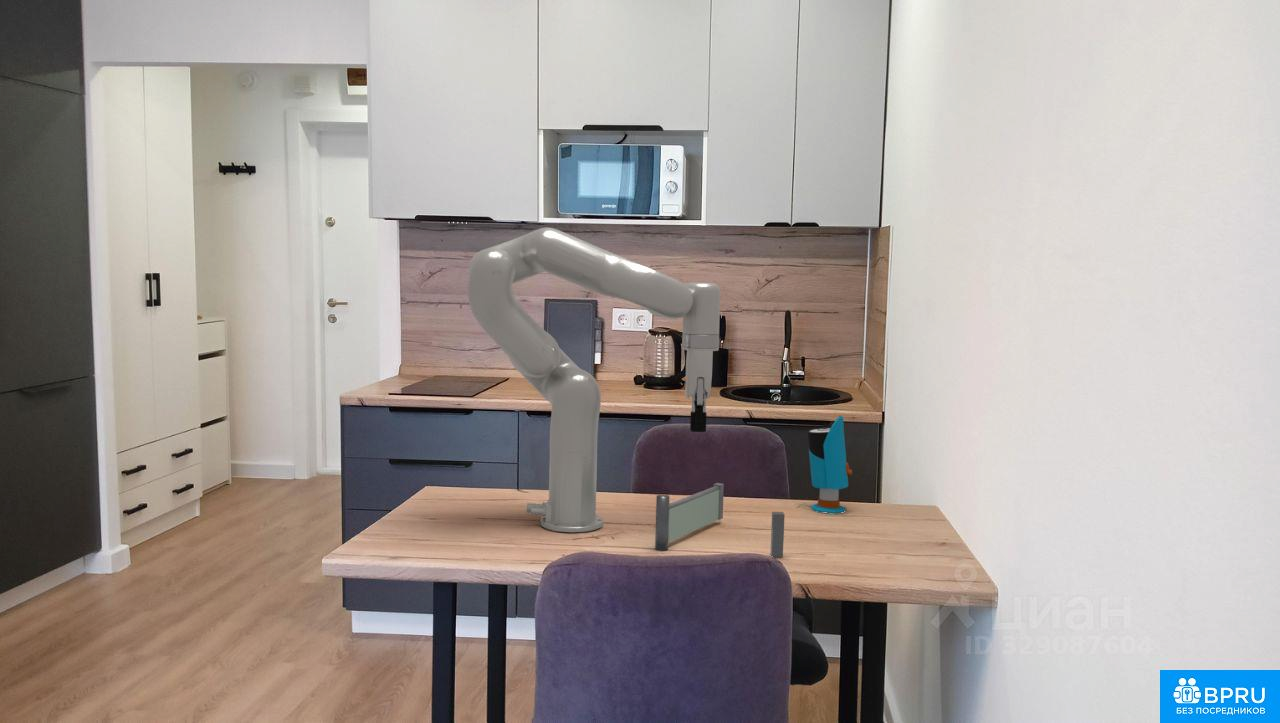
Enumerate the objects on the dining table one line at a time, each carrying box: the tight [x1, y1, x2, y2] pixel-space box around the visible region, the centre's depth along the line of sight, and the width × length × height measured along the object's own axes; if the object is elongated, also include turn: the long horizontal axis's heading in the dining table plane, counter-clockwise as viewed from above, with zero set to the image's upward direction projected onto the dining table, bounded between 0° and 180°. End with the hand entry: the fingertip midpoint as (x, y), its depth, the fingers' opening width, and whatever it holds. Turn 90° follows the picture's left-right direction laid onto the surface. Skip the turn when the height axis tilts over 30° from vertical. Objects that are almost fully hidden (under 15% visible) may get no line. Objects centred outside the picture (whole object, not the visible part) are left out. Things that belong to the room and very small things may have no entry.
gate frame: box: [654, 494, 785, 559], centre depth 170 cm, size 23×2×10 cm, turn 83°
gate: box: [668, 482, 725, 544], centre depth 182 cm, size 23×2×7 cm, turn 149°
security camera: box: [807, 415, 853, 513], centre depth 205 cm, size 8×21×10 cm
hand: (698, 431), depth 192 cm, fingers closed
